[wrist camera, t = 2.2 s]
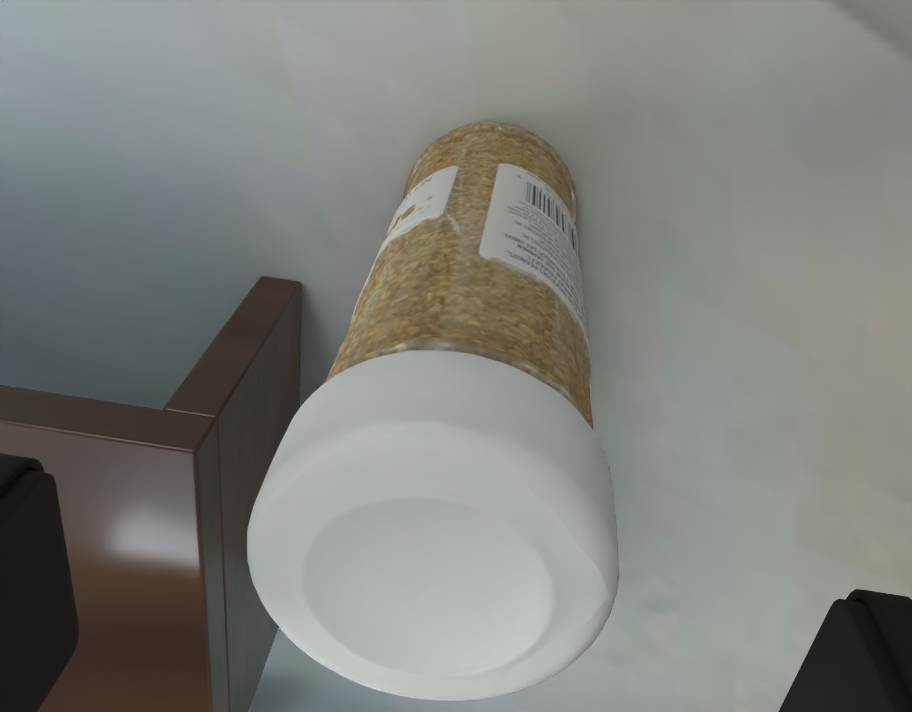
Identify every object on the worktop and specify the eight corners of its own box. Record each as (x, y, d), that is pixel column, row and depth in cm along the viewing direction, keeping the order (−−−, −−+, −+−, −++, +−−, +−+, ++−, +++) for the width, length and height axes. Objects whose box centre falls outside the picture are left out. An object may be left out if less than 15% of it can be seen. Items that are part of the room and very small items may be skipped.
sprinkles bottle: (385, 140, 20) (173, 467, 9) (562, 99, 19) (588, 404, 8) (431, 298, 22) (309, 730, 11) (592, 268, 22) (648, 706, 10)
